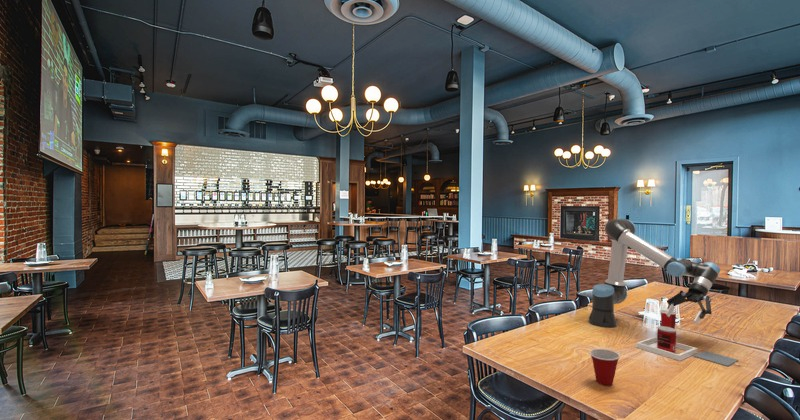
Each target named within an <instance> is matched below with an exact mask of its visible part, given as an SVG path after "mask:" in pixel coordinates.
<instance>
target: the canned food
mask: <svg viewBox="0 0 800 420" xmlns="http://www.w3.org/2000/svg"><path fill="white" fill-rule="evenodd" d="M656 332H657V333H656V334H657V335H656V337H657V342H656V344H657V345H656V348H658V349H662V350H665V351H668V352H672V353H675V354H676V350H677V348H676V343H677V329H676V328H675V329H673V328H670V327H665V326H657V331H656Z"/></svg>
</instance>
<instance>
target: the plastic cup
mask: <svg viewBox="0 0 800 420" xmlns="http://www.w3.org/2000/svg"><path fill="white" fill-rule="evenodd" d="M589 355H590V356H591V361H592V364H593V365H592V366H593V370H594V375H595V381H596V383H597V384H599V385H603V386H608V387H609V386H610V387H611V386H613V384H614V379H615V377H616V376H615V375H616V371H617V366H618V363H619V359H620V355H621V354H619V353H618V352H616V351H614V350H610V349H607V348H594V349H590V350H589Z"/></svg>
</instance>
